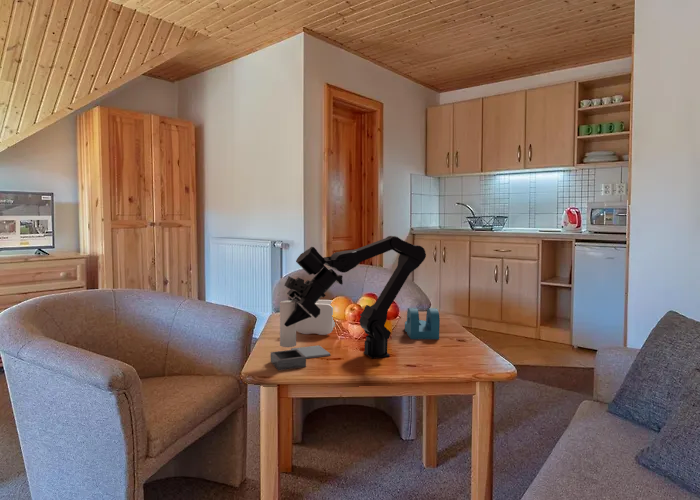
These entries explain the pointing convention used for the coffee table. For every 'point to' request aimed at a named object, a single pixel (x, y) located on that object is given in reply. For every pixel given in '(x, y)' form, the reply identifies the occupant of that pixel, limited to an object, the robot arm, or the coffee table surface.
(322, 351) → the slate mat
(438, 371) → the coffee table surface
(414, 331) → the camera mount
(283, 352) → the grey square tray
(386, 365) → the coffee table surface
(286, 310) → the white plug
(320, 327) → the cable organizer
